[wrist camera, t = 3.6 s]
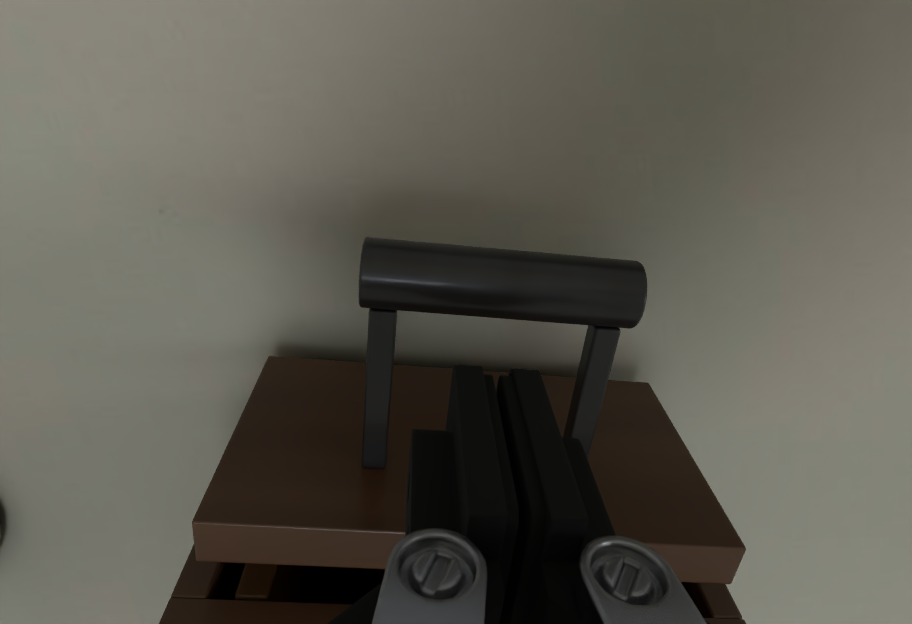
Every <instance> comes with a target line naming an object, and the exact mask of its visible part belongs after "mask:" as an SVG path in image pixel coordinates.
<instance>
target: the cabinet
mask: <svg viewBox="0 0 912 624" xmlns="http://www.w3.org/2000/svg"><path fill="white" fill-rule="evenodd" d="M244 566H245V563H227V562H203V561H197V560H196V554H195V545H193V547H192V550H191V552H190V554H189V557H188V559H187V561H186V563H185V566H184V568H183V570H182V572H181V575H180V577H179V579H178V582H177V584H176V586H175V588H174V591H173V593H172V595H171V598H170V600H169V602H168V604H167V607H166V609H165V611H164V613H163V616H162V618H161V620H160V623H159V624H327V623H329V622H330V621H331V620H333V619H334V618H335V617H337V616H338V615H339V614H341V613H342V612H343V611H345V610H346V609H347V608H349V607H350V606H351V605H352V604H325V603H299V602H273V601H246V600H235V593H236V590H237V587H238V584H239V581H240V578H241V575H242V572H243V569H244ZM681 583H682V585H683V586H684V588H685V590H686V591H687V593H688V594H689V596H690V598H691V599H692V601H693V602H694V604H695V606H696V607H697V609H698V610H699V612H700V614H701V615H702V617H703V618H704V620H706V621H707V622H709V623H710V624H746V622H745V621H744V620H743V619H742V616H741V614H740V612H739V610H738V608H737V606H736V604H735V602H734V600H733V598H732V596H731V594H730V592H729V590H728V589H727V587H726V585H725V584H716V583H692V582H681Z"/></svg>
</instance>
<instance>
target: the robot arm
mask: <svg viewBox="0 0 912 624" xmlns="http://www.w3.org/2000/svg"><path fill="white" fill-rule="evenodd" d="M327 624H710V623H709V622H707V621H706V620H704V618H703V617H702V615H701V614H700V612H699V610H698V609H697V607H696V606H695V604H694V602H693V601H692V599H691V598H690V596H689V594H688V593H687V591H686V590H685V588H684V586H683V585H682V583H681V582H680V580H679V578H678V577H677V575H676V574H675V572H674V570H673V569H672V567H671V566H670V565H669V564H668V563H667V561H666V560H665V559H664V558H663V557H662V556H661V555H660V554H659V553H657V552H656V551H655V550H654V549H652V548H651V547H649V546H647V545H646V544H644V543H642V542H640V541H638V540H635V539H631V538H628V537H624V536H616V535H615V532H614V529H613V526H612V524H611V521H610V518H609V516H608V513H607V510H606V508H605V505H604V502H603V500H602V497H601V494H600V492H599V489H598V486H597V484H596V481H595V478H594V476H593V473H592V470H591V468H590V465H589V462H588V460H587V457H586V454H585V452H584V449H583V446H582V444H581V442H580V440H579V439H577V438H569V437H561V434H560V431H559V428H558V425H557V422H556V419H555V416H554V413H553V410H552V407H551V404H550V401H549V398H548V395H547V392H546V389H545V386H544V383H543V380H542V377H541V374H540V372H539V371H538V370H527V369H512V368H511V369H510V371H509V374H508V375H500V376H499V379H498V384H497V390H495V385H494V380H493V375H492V374H484V373H483V368H482V367H481V366H466V365H454V367H453V372H452V380H451V388H450V397H449V405H448V413H447V421H446V430H445V431H444V430H426V429H412V433H411V443H410V453H409V465H408V478H407V494H406V521H405V536H404V537H403V538H402V539H401V540H400V541H399V542H398V543H397V544H396V545H395V546H394V547H393V549H392V551H391V553H390V555H389V557H388V561H387V565H386V569H385V573H384V577H383V581H382V583H380V584H379V585H378V586H376V587H375V588H374V589H372V590H371V591H370V592H368V593H367V594H366V595H364V596H363V597H362V598H360V599H359V600H358V601H356V602H355V603H354V604H352V605H351V606H350V607H349V608H347V609H346V610H345V611H343V612H342V613H341V614H339V615H338V616H337V617H335V618H334V619H333V620H331V621H330V622H329V623H327Z"/></svg>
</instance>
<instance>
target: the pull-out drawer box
mask: <svg viewBox="0 0 912 624" xmlns="http://www.w3.org/2000/svg"><path fill="white" fill-rule="evenodd" d="M646 297H647V278H646V273H645V269H644V267H643V265H642V264H641V263H640V262H638V261H632V260H620V259H609V258H597V257H586V256H575V255H563V254H552V253H540V252H529V251H518V250H506V249H495V248H483V247H472V246H461V245H449V244H438V243H426V242H415V241H404V240H392V239H381V238H369V237H367V238H365V239H364V242H363V247H362V253H361V262H360V274H359V305H360V307H363V308H370V309H369V321H368V341H367V362H366V363H360V362H346V361H332V360H318V359H304V358H290V357H276V356H269V357H268V359H267V361H266V363H265V365H264V368H263V370H262V372H261V374H260V376H259V378H258V380H257V383H256V385H255V387H254V389H253V391H252V393H251V396H250V398H249V400H248V402H247V404H246V406H245V409H244V411H243V413H242V415H241V417H240V419H239V422H238V424H237V426H236V428H235V430H234V432H233V434H232V437H231V439H230V441H229V443H228V445H227V447H226V450H225V452H224V454H223V456H222V458H221V460H220V463H219V465H218V467H217V469H216V471H215V473H214V476H213V478H212V480H211V482H210V484H209V486H208V488H207V491H206V493H205V495H204V497H203V499H202V501H201V504H200V506H199V508H198V510H197V512H196V514H195V517H194V519H193V521H192V527H193V536H194V545H195V554H196V560H197V561H203V562H227V563H245V566H244V569H243V572H242V575H241V578H240V581H239V584H238V587H237V590H236V593H235V600H246V601H273V602H299V603H325V604H354V603H355V602H356V601H358V600H359V599H360V598H362V597H363V596H364V595H366V594H367V593H368V592H370V591H371V590H372V589H374V588H375V587H376V586H378V585H379V584H380V583H382V581H383V577H384V573H385V569H386V565H387V561H388V557H389V555H390V553H391V551H392V549H393V547H394V546H395V545H396V544H397V543H398V542H399V541H400V540H401V539H402V538H403V537H404V536H405V521H406V494H407V478H408V465H409V453H410V443H411V433H412V429H426V430H444V431H445V430H446V421H447V413H448V405H449V397H450V388H451V380H452V372H453V369H445V368H431V367H417V366H403V365H393V364H394V350H395V336H396V322H397V310H401V311H414V312H427V313H440V314H452V315H465V316H478V317H491V318H504V319H516V320H529V321H542V322H555V323H568V324H580V325H588V329H587V333H586V338H585V342H584V347H583V351H582V355H581V360H580V364H579V368H578V373H577V377H576V378H573V377H558V376H544V375H541V377H542V380H543V383H544V386H545V389H546V392H547V395H548V398H549V401H550V404H551V407H552V410H553V413H554V416H555V419H556V422H557V425H558V428H559V431H560V434H561V437H569V438H577V439H579V440H580V442H581V444H582V446H583V449H584V452H585V454H586V457H587V460H588V462H589V465H590V468H591V470H592V473H593V476H594V478H595V481H596V484H597V486H598V489H599V492H600V494H601V497H602V500H603V502H604V505H605V508H606V510H607V513H608V516H609V518H610V521H611V524H612V526H613V529H614V532H615V535H616V536H624V537H628V538H631V539H635V540H638V541H640V542H642V543H644V544H646V545H647V546H649V547H651V548H652V549H654V550H655V551H656V552H657V553H659V554H660V555H661V556H662V557H663V558H664V559H665V560H666V561H667V563H668V564H669V565H670V566H671V567H672V569H673V570H674V572H675V574H676V575H677V577H678V578H679V580H680V582H692V583H716V584H731V583H732V580H733V578H734V576H735V573H736V571H737V569H738V566H739V564H740V562H741V560H742V557H743V555H744V553H745V550H746V548H745V546H744V544H743V542H742V541H741V539H740V537H739V536H738V534H737V532H736V531H735V529H734V527H733V526H732V524H731V522H730V520H729V519H728V517H727V515H726V514H725V512H724V510H723V509H722V507H721V505H720V503H719V502H718V500H717V498H716V497H715V495H714V493H713V492H712V490H711V488H710V486H709V485H708V483H707V481H706V480H705V478H704V476H703V475H702V473H701V471H700V470H699V468H698V466H697V464H696V463H695V461H694V459H693V458H692V456H691V454H690V453H689V451H688V449H687V447H686V446H685V444H684V442H683V441H682V439H681V437H680V436H679V434H678V432H677V431H676V429H675V427H674V425H673V424H672V422H671V420H670V419H669V417H668V415H667V414H666V412H665V410H664V408H663V407H662V405H661V403H660V402H659V400H658V398H657V397H656V395H655V393H654V392H653V390H652V388H651V386H650V385H649V383H643V382H629V381H615V380H608V378H609V374H610V370H611V366H612V362H613V358H614V354H615V351H616V347H617V343H618V339H619V335H620V329H619V328H633V327H635V326H636V325H637V324H638V323H639V321H640V319H641V317H642V315H643V312H644V308H645V304H646ZM483 373H484V374H492V375H493V380H494V385H495V390H497V384H498V379H499V376H500V375H508V374H509V373H502V372H488V371H483Z"/></svg>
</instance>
